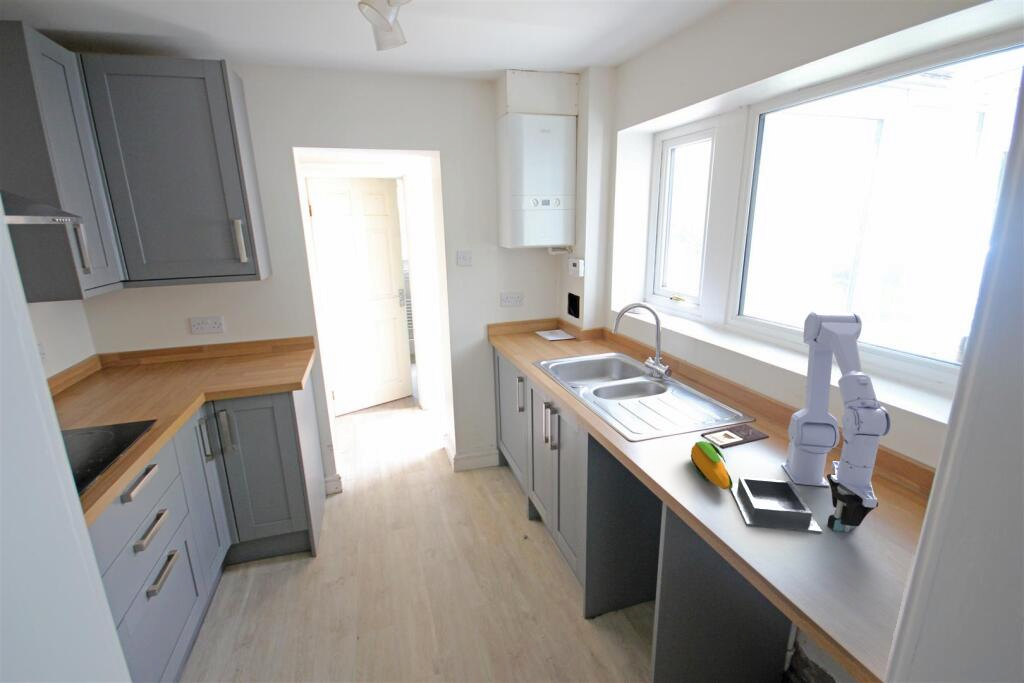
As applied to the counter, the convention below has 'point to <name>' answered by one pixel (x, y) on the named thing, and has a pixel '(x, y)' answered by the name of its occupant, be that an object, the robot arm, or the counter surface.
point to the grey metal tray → (773, 505)
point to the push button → (840, 509)
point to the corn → (710, 464)
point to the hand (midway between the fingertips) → (845, 515)
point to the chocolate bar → (734, 436)
